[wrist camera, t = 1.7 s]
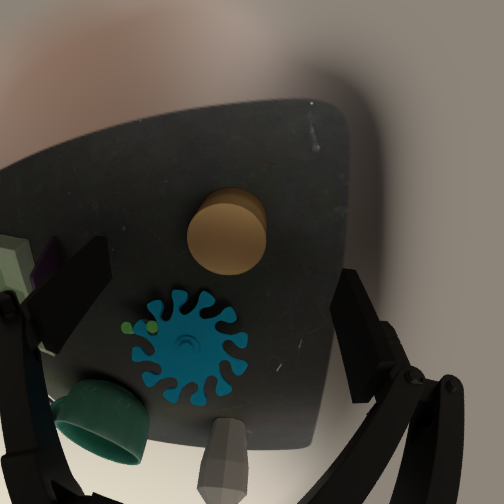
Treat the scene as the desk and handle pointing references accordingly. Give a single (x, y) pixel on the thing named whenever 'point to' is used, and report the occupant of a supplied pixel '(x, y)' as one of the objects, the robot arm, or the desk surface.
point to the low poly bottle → (224, 463)
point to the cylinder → (228, 232)
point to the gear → (187, 346)
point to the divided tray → (17, 269)
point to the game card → (46, 264)
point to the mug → (103, 420)
